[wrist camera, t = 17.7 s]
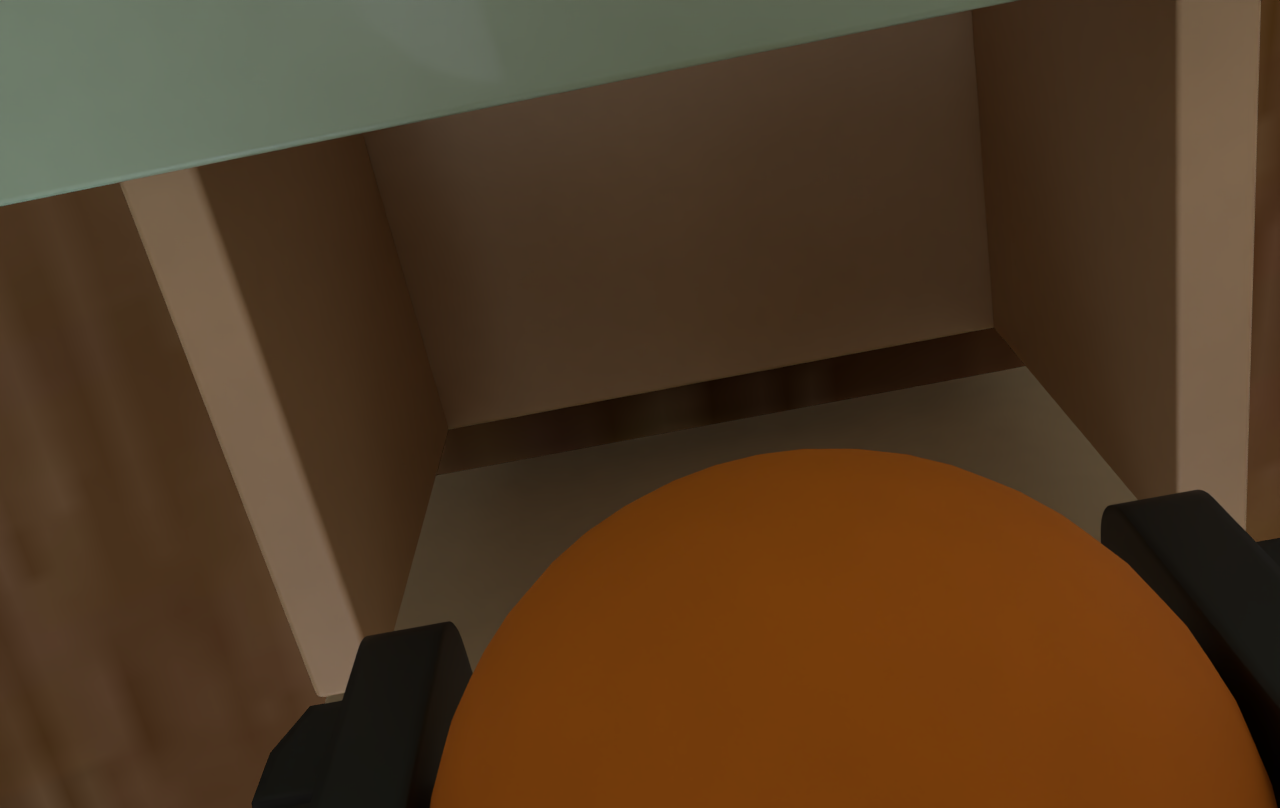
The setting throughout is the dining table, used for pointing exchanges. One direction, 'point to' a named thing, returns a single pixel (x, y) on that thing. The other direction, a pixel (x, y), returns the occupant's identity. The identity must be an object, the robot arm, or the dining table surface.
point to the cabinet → (340, 68)
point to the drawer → (725, 290)
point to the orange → (844, 657)
